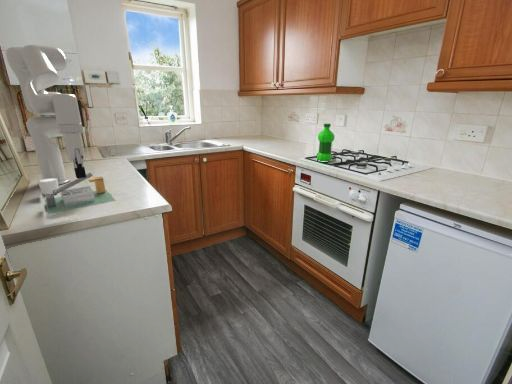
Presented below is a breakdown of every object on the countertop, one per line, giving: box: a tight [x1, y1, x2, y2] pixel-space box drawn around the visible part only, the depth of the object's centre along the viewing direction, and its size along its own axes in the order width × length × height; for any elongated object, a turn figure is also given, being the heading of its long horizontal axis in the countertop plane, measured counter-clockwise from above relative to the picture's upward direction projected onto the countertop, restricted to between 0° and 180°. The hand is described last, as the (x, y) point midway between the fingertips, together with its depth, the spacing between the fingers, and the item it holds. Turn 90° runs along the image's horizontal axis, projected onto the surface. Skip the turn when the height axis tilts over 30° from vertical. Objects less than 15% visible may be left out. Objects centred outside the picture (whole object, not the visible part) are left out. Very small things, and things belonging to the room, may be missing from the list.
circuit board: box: [44, 188, 116, 215], centre depth 111 cm, size 18×22×2 cm
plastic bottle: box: [316, 123, 335, 162], centre depth 182 cm, size 10×10×25 cm
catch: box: [87, 176, 106, 193], centre depth 118 cm, size 3×5×6 cm, turn 128°
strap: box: [52, 172, 93, 196], centre depth 108 cm, size 15×4×1 cm, turn 128°
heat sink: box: [44, 185, 95, 208], centre depth 108 cm, size 10×15×4 cm, turn 128°
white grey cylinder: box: [37, 178, 59, 195], centre depth 119 cm, size 7×7×7 cm
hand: (81, 177), depth 108 cm, fingers closed
